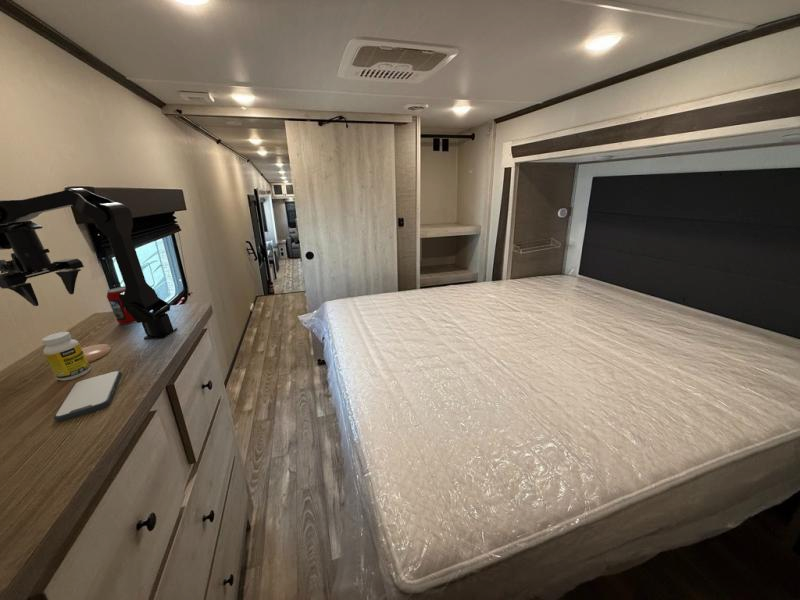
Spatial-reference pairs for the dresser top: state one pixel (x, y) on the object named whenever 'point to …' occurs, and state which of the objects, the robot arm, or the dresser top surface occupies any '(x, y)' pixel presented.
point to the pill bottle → (65, 356)
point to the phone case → (88, 396)
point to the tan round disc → (96, 351)
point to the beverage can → (119, 306)
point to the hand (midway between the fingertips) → (54, 299)
